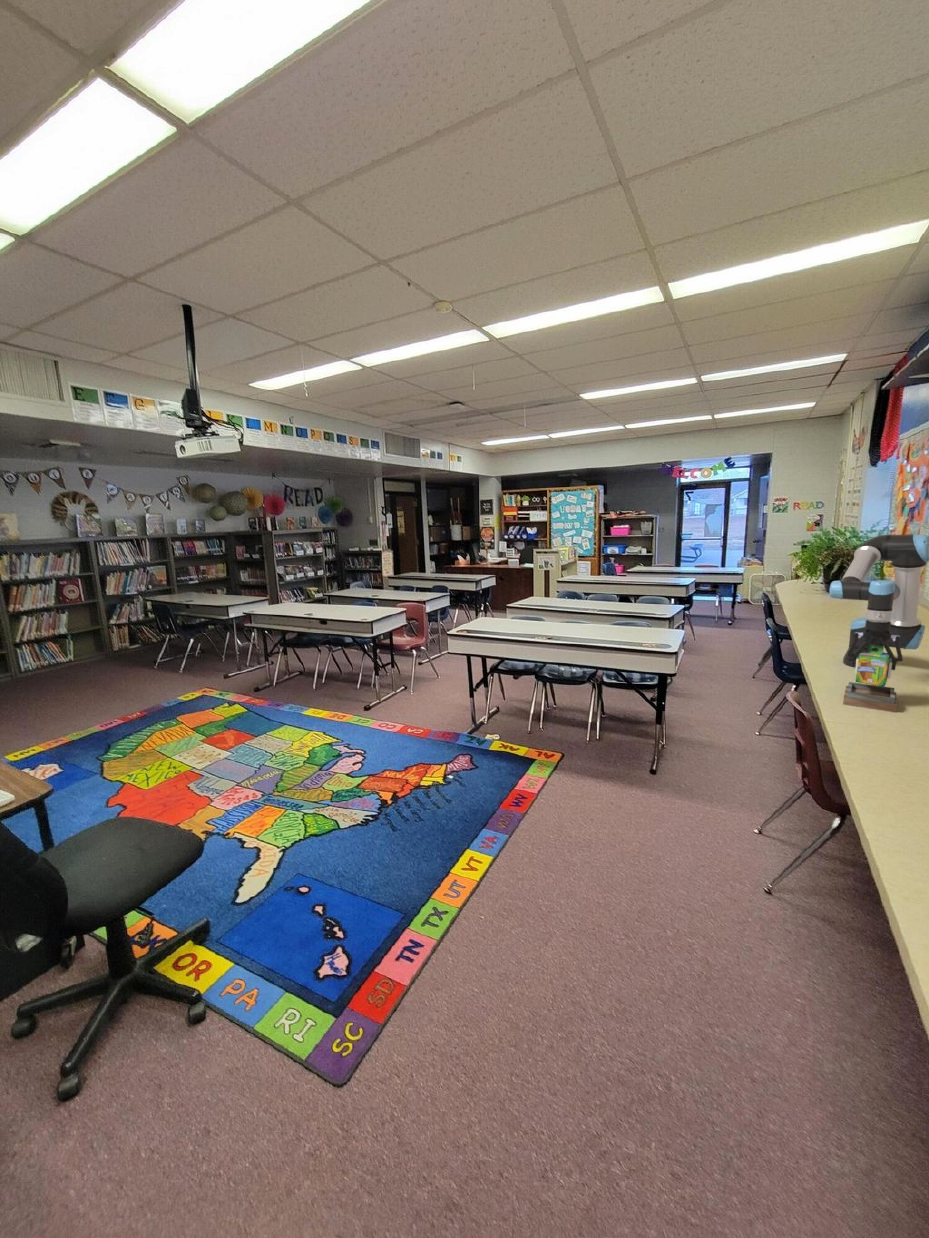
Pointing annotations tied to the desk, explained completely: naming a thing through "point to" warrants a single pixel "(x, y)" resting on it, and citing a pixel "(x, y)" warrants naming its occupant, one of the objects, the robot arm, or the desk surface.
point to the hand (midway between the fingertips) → (872, 675)
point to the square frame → (870, 696)
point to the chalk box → (873, 666)
